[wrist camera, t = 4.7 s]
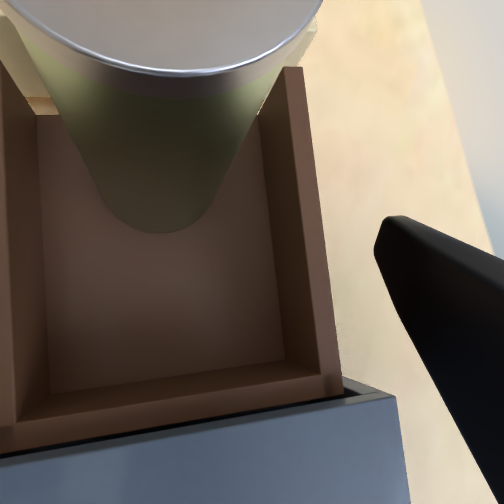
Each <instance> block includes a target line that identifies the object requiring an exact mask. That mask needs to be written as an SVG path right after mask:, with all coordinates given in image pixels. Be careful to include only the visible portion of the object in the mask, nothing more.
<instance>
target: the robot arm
mask: <svg viewBox="0 0 504 504" xmlns="http://www.w3.org/2000/svg"><path fill="white" fill-rule="evenodd" d="M374 257H375V259H376V262H377V264H378V267H379V269H380V272H381V274H382V277H383V279H384V282H385V284H386V287H387V290H388V292H389V295H390V297H391V300H392V302H393V304H394V307H395V309H396V311H397V313H398V315H399V317H400V319H401V322H402V323H403V325H404V327H405V329H406V331H407V333H408V335H409V337H410V338H411V340H412V342H413V344H414V346H415V348H416V350H417V352H418V354H419V355H420V357H421V359H422V361H423V363H424V365H425V367H426V369H427V370H428V372H429V374H430V376H431V378H432V380H433V382H434V384H435V385H436V387H437V389H438V391H439V393H440V395H441V397H442V399H443V401H444V402H445V404H446V406H447V408H448V410H449V412H450V414H451V416H452V417H453V419H454V421H455V423H456V425H457V427H458V429H459V431H460V432H461V434H462V436H463V438H464V440H465V442H466V444H467V446H468V448H469V449H470V451H471V453H472V455H473V457H474V459H475V461H476V463H477V464H478V466H479V468H480V470H481V472H482V474H483V476H484V478H485V479H486V481H487V483H488V485H489V487H490V489H491V491H492V493H493V495H494V496H495V498H496V500H497V502H498V504H504V260H502V259H500V258H498V257H495V256H493V255H491V254H489V253H487V252H484V251H482V250H480V249H478V248H475V247H473V246H471V245H469V244H466V243H464V242H462V241H460V240H457V239H455V238H453V237H451V236H449V235H446V234H444V233H442V232H440V231H437V230H435V229H433V228H431V227H428V226H426V225H424V224H422V223H420V222H417V221H415V220H413V219H411V218H408V217H406V216H402V215H401V216H388V217H386V218H385V219H384V220H383V221H382V224H381V227H380V230H379V233H378V236H377V239H376V242H375V245H374Z"/></svg>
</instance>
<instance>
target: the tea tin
mask: <svg viewBox="0 0 504 504" xmlns="http://www.w3.org/2000/svg"><path fill="white" fill-rule="evenodd" d="M322 2H323V0H0V9H1V10H2V12H3V13H4V14H5V15H6V16H7V17H8V18H9V20H10V21H11V22H12V23H13V24H14V25H15V27H16V29H17V31H18V33H19V35H20V37H21V39H22V41H23V43H24V45H25V47H26V49H27V51H28V53H29V55H30V57H31V59H32V61H33V63H34V65H35V67H36V68H37V70H38V72H39V74H40V76H41V78H42V80H43V82H44V84H45V86H46V88H47V90H48V92H49V94H50V96H51V98H52V100H53V102H54V104H55V106H56V108H57V110H58V112H59V114H60V116H61V118H62V120H63V121H64V123H65V125H66V127H67V129H68V131H69V133H70V135H71V137H72V139H73V141H74V143H75V145H76V147H77V149H78V151H79V153H80V155H81V157H82V159H83V161H84V163H85V165H86V167H87V169H88V171H89V172H90V174H91V176H92V178H93V180H94V182H95V184H96V186H97V188H98V190H99V192H100V194H101V196H102V198H103V200H104V202H105V203H106V205H107V206H108V208H109V209H110V210H111V212H112V213H113V214H114V215H115V216H116V217H117V218H119V219H120V220H121V221H122V222H124V223H125V224H127V225H129V226H131V227H133V228H135V229H138V230H141V231H144V232H149V233H169V232H175V231H178V230H181V229H183V228H186V227H188V226H189V225H191V224H193V223H194V222H196V221H197V220H198V219H199V218H200V217H201V216H202V215H203V214H204V213H205V212H206V210H207V209H208V208H209V206H210V204H211V202H212V200H213V198H214V196H215V194H216V192H217V190H218V189H219V187H220V185H221V183H222V181H223V179H224V177H225V175H226V173H227V171H228V169H229V167H230V165H231V163H232V161H233V159H234V157H235V156H236V154H237V152H238V150H239V148H240V146H241V144H242V142H243V140H244V138H245V136H246V134H247V132H248V130H249V128H250V126H251V124H252V122H253V121H254V119H255V117H256V115H257V113H258V111H259V109H260V107H261V105H262V103H263V101H264V99H265V97H266V95H267V93H268V91H269V89H270V88H271V86H272V84H273V82H274V80H275V78H276V76H277V74H278V72H279V70H280V68H281V66H282V64H283V62H284V60H285V58H286V57H287V56H288V55H289V54H290V53H291V52H292V51H293V50H294V49H295V47H296V46H297V45H298V43H299V42H300V41H301V39H302V38H303V36H304V35H305V33H306V32H307V30H308V28H309V26H310V24H311V22H312V21H313V19H314V17H315V15H316V13H317V11H318V9H319V7H320V5H321V3H322Z"/></svg>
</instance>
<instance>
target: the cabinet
mask: <svg viewBox="0 0 504 504" xmlns="http://www.w3.org/2000/svg"><path fill="white" fill-rule="evenodd" d="M342 381H343V388H344V394H343V395H338V396H332V397H326V398H320V399H315V400H309V401H303V402H297V403H292V404H286V405H280V406H275V407H269V408H263V409H257V410H252V411H246V412H240V413H234V414H229V415H223V416H217V417H211V418H206V419H200V420H194V421H189V422H183V423H177V424H171V425H166V426H160V427H154V428H148V429H143V430H137V431H131V432H125V433H120V434H114V435H108V436H102V437H97V438H91V439H85V440H80V441H74V442H68V443H62V444H57V445H51V446H45V447H39V448H34V449H28V450H22V451H16V452H11V453H5V454H0V504H411V502H410V495H409V487H408V480H407V473H406V466H405V459H404V452H403V445H402V437H401V430H400V423H399V416H398V409H397V402H396V397H395V396H394V395H391V394H388V393H386V392H382V391H381V390H378V389H375V388H373V387H370V386H367V385H365V384H362V383H360V382H357V381H354V380H352V379H349V378H346V377H344V376H342Z"/></svg>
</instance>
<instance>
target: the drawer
mask: <svg viewBox="0 0 504 504" xmlns="http://www.w3.org/2000/svg"><path fill="white" fill-rule="evenodd" d="M316 33H317V24H316V16H315V17H314V19H313V21H312V22H311V24H310V26H309V28H308V30H307V32H306V33H305V35H304V36H303V38H302V39H301V41H300V42H299V43H298V45H297V46H296V47H295V49H294V50H293V51H292V52H291V53H290V54H289V55H288V56H287V57H286V58H285V60H284V62H283V64H282V66H281V68H280V70H279V72H278V74H277V76H276V78H275V80H274V82H273V84H272V86H271V88H270V89H269V91H268V93H267V95H266V97H265V99H266V100H265V102H264V104H263V106H262V108H261V110H260V112H259V114H258V115H256V117H255V119H254V121H253V122H252V124H251V126H250V128H249V130H248V132H247V134H246V136H245V138H244V140H243V142H242V144H241V146H240V148H239V150H238V152H237V154H236V156H235V157H234V159H233V161H232V163H231V165H230V167H229V169H228V171H227V173H226V175H225V177H224V179H223V181H222V183H221V185H220V187H219V189H218V190H217V192H216V194H215V196H214V198H213V200H212V202H211V204H210V206H209V208H208V209H207V210H206V212H205V213H204V214H203V215H202V216H201V217H200V218H199V219H198V220H197V221H196V222H194V223H193V224H191V225H189V226H188V227H186V228H183V229H181V230H178V231H175V232H169V233H149V232H144V231H141V230H138V229H135V228H133V227H131V226H129V225H127V224H125V223H124V222H122V221H121V220H120V219H119V218H117V217H116V216H115V215H114V214H113V213H112V212H111V210H110V209H109V208H108V206H107V205H106V203H105V202H104V200H103V198H102V196H101V194H100V192H99V190H98V188H97V186H96V184H95V182H94V180H93V178H92V176H91V174H90V172H89V171H88V169H87V167H86V165H85V163H84V161H83V159H82V157H81V155H80V153H79V151H78V149H77V147H76V145H75V143H74V141H73V139H72V137H71V135H70V133H69V131H68V129H67V127H66V125H65V123H64V121H63V120H62V118H61V116H60V115H35V113H34V112H33V110H32V108H31V107H30V105H29V104H28V102H27V101H26V99H25V97H51V96H50V94H49V92H48V90H47V88H46V86H45V84H44V82H43V80H42V78H41V76H40V74H39V72H38V70H37V68H36V67H35V65H34V63H33V61H32V59H31V57H30V55H29V53H28V51H27V49H26V47H25V45H24V43H23V41H22V39H21V37H20V35H19V33H18V31H17V29H16V27H15V25H14V24H13V23H12V22H11V21H10V20H9V18H8V17H7V16H6V15H5V14H4V13H3V12H2V10H1V9H0V454H5V453H11V452H16V451H22V450H28V449H34V448H39V447H45V446H51V445H57V444H62V443H68V442H74V441H80V440H85V439H91V438H97V437H102V436H108V435H114V434H120V433H125V432H131V431H137V430H143V429H148V428H154V427H160V426H166V425H171V424H177V423H183V422H189V421H194V420H200V419H206V418H211V417H217V416H223V415H229V414H234V413H240V412H246V411H252V410H257V409H263V408H269V407H275V406H280V405H286V404H292V403H297V402H303V401H309V400H315V399H320V398H326V397H332V396H338V395H343V394H344V388H343V381H342V373H341V366H340V358H339V350H338V342H337V335H336V327H335V319H334V311H333V303H332V295H331V287H330V279H329V272H328V264H327V256H326V248H325V240H324V232H323V224H322V216H321V209H320V201H319V193H318V185H317V177H316V169H315V161H314V153H313V146H312V138H311V130H310V122H309V114H308V106H307V98H306V91H305V83H304V75H303V68H302V67H297V65H298V64H299V62H300V60H301V59H302V57H303V55H304V53H305V52H306V50H307V48H308V46H309V45H310V43H311V41H312V40H313V38H314V36H315V34H316Z"/></svg>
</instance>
